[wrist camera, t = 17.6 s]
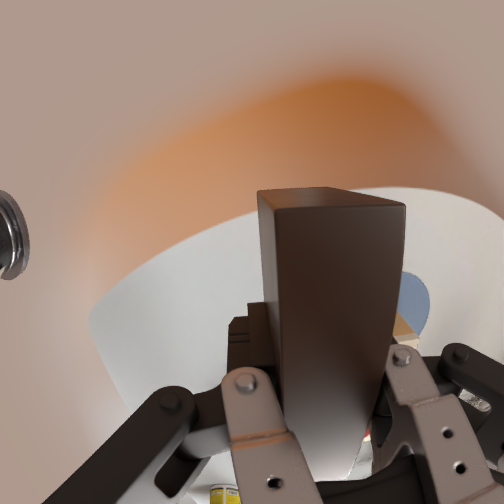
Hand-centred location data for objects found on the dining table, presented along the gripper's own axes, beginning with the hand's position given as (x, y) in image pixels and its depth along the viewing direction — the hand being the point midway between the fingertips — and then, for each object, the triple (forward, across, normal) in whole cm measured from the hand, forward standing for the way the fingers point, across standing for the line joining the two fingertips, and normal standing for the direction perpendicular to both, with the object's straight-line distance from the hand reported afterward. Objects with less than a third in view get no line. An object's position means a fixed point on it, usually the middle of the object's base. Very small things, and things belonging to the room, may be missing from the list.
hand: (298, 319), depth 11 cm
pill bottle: (+14, +10, +54) cm, 57 cm away
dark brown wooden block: (0, 0, +6) cm, 6 cm away
